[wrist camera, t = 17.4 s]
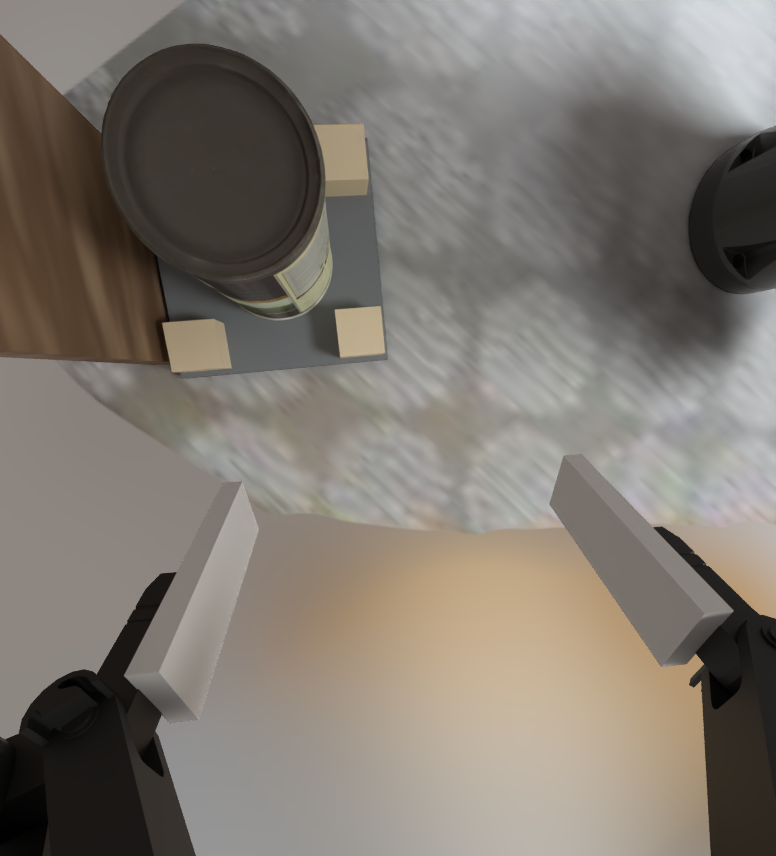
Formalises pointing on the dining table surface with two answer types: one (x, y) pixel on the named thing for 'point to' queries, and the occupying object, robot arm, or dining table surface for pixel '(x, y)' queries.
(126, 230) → the walnut shelf
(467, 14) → the dining table surface
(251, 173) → the coffee can
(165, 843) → the robot arm
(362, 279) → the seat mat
